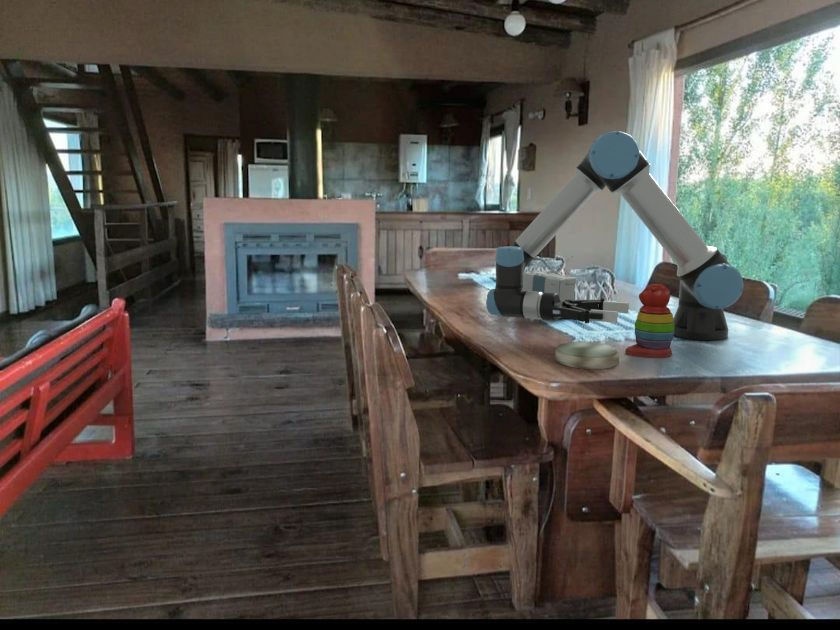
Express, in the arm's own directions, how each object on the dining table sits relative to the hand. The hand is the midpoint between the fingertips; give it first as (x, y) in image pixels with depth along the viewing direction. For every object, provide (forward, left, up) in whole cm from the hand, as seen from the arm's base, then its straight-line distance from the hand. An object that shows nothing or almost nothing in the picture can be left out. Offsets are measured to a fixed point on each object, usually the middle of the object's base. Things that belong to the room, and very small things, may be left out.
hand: (623, 312), depth 164 cm
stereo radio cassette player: (+25, -45, -10) cm, 52 cm away
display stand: (+8, +13, -10) cm, 18 cm away
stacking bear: (-7, +1, -10) cm, 13 cm away
